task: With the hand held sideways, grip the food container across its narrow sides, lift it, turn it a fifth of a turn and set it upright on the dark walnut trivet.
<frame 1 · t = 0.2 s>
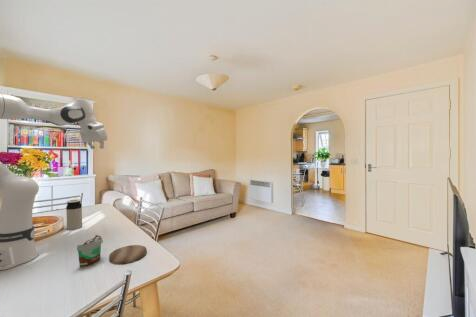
hand: (97, 148, 132), 52 cm above the table, tool tilted 20°, fingers open, 8 cm apart
walnut trivet: (128, 255, 104), on the table
travel mug: (74, 228, 142), on the table
food container: (94, 261, 99), on the table
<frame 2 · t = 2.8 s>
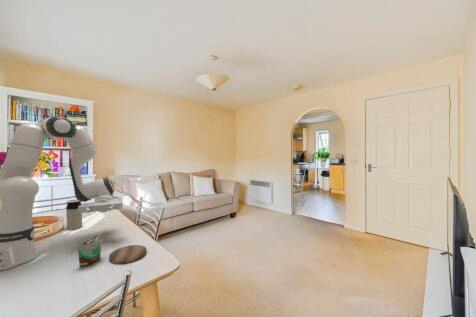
hand: (98, 210, 111), 20 cm above the table, tool horizontal, fingers open, 8 cm apart
nothing on the table moved.
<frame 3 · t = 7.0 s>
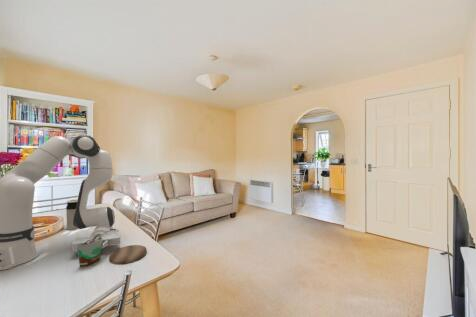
hand: (94, 248, 100), 6 cm above the table, tool horizontal, fingers open, 5 cm apart
food container: (94, 261, 99), on the table, touching gripper
everything else where it was.
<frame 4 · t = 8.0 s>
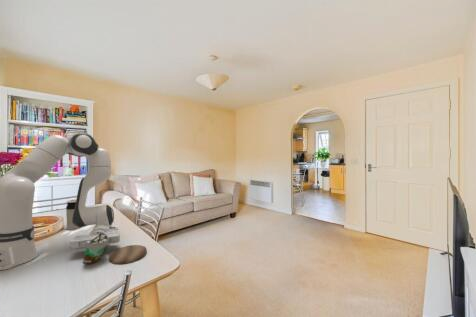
hand: (93, 245, 100), 7 cm above the table, tool horizontal, fingers closed on food container
food container: (95, 259, 99), on the table, touching gripper
everything else where it was.
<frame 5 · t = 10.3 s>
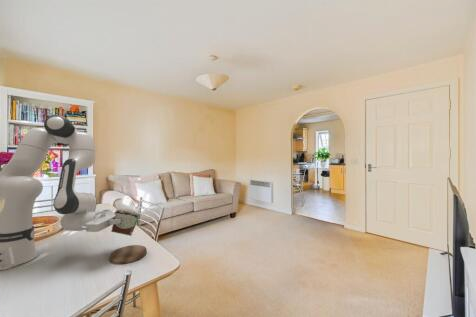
hand: (123, 220, 102), 18 cm above the table, tool horizontal, fingers closed on food container
food container: (124, 234, 103), point 11 cm above the table, touching gripper
everything else where it was.
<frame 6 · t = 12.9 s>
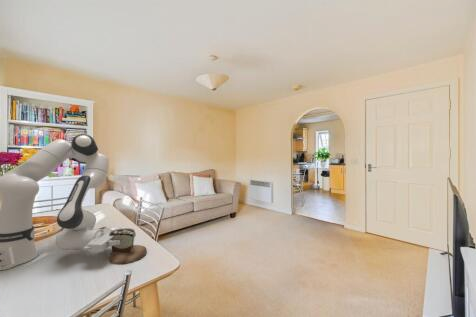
hand: (124, 238, 104), 8 cm above the table, tool horizontal, fingers open, 6 cm apart
food container: (125, 250, 106), point 2 cm above the table, touching gripper, walnut trivet
everything else where it was.
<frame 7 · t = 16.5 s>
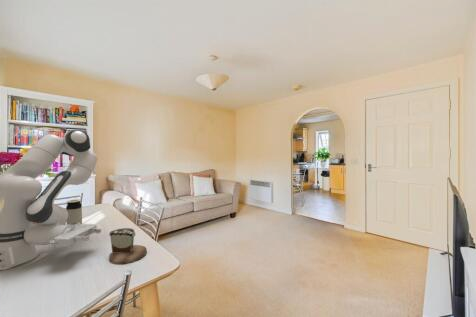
hand: (94, 234, 102), 11 cm above the table, tool horizontal, fingers open, 8 cm apart
food container: (125, 250, 106), point 1 cm above the table, touching walnut trivet
everything else where it was.
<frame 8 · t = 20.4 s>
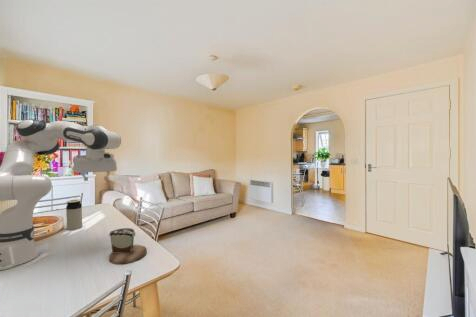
hand: (96, 180, 120), 34 cm above the table, tool pointing down, fingers open, 8 cm apart
nothing on the table moved.
at the end: food container inside the target area on the walnut trivet (3.4 cm from its centre), point 1.4 cm above the walnut trivet's base; food container tilted 0°; the gripper is holding nothing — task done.
